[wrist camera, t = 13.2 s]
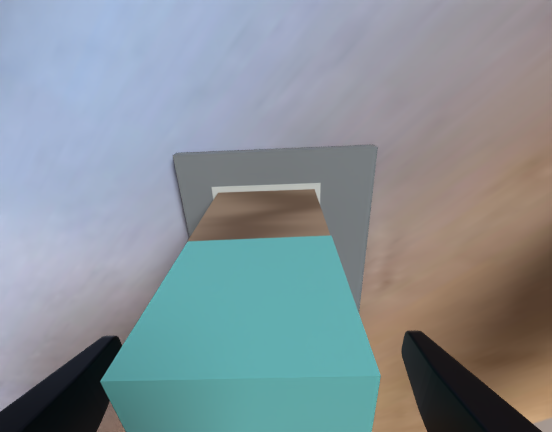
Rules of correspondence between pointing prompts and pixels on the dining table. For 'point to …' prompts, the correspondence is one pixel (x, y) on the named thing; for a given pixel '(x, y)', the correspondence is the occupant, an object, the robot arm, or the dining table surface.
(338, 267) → the teal block
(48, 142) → the dining table surface
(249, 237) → the walnut block
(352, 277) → the mat
